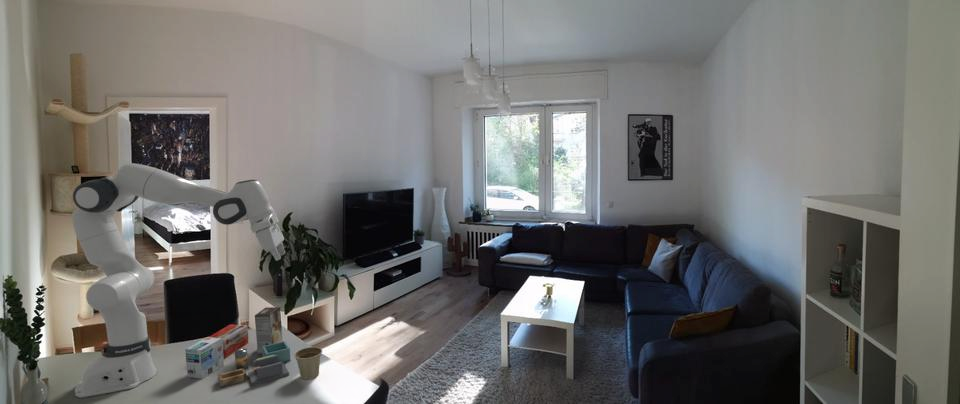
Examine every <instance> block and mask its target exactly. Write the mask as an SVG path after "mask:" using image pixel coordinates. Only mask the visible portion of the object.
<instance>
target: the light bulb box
mask: <svg viewBox="0 0 960 404" xmlns="http://www.w3.org/2000/svg"><path fill="white" fill-rule="evenodd" d="M184 351H185V361H186V363H185V365H186V371H187V372H186V373H187V375H186V376H187V378H196V379H204V378H206V377H207V376H209V375H211V374H212V373H214V372H216V371H218V370H219V369H221V368H222V367H224V366H225V362H224V360H225V359H223V345H222V338H211V337H210V336H207V337H204V338H203V339H201V340H200V341H197V342H196V343H194V344H192V345H190V346H188V347H186V348H185V349H184Z"/></svg>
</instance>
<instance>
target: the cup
mask: <svg viewBox="0 0 960 404" xmlns="http://www.w3.org/2000/svg"><path fill="white" fill-rule="evenodd" d="M282 341H283V342H279V343H274V344H270V345H266V346H262V348H263V353H262V357H266V356H270V355H278V362H282V363H284V364H285V363H288V362H291V349H290V346H289V345H288V344H287V342H286V341H285V340H282Z"/></svg>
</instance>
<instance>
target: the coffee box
mask: <svg viewBox="0 0 960 404" xmlns="http://www.w3.org/2000/svg"><path fill="white" fill-rule="evenodd" d="M254 320H255V321H254V323H255V337H256V338H255V339H256V347H257V348H256V349H257V354H263V348H262V346H266V345H270V344H274V343H279V342H283V341H284V340H283V330H282V314H281V307H278V306H276V307H274V306H271V307H270V306H269V307H264V308H263V309H262V310H259V311H258V313H256V314H254Z"/></svg>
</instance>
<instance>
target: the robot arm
mask: <svg viewBox="0 0 960 404" xmlns="http://www.w3.org/2000/svg"><path fill="white" fill-rule="evenodd" d="M139 198H142V199H145V200H148V201H150V202H154V203H159V204H165V205H175V204H176V205H177V204H185V203H197V204H203V205H206V206H210V207H212V214H213V216H214V219H215V220H216V221H217V222H218V223H220V224H222V225H229V226H230V225H235V224H238V223H239V222H243V221H249V223H250V230H251V232H252V233H253V234H255V237H256V238H257V240H258V242H259V244H260V246H261V248H262V249H263V251H265V252H269V253H270V254H271V255H272V256H273V258H274V260H275V261H276V262H278V261H279V260H281V258H282V256H284V255H285V254H286V250H285V247H284V244H283V242H284V240H285V237H284V235H283V232H282V231H281V228H280V226H279V225H278V224H277V223H279V222H280V220H279V218H278V216H277V213H276V211H275V210H274V209H275V208H273V207H272V205H271V204H270V199H269V196H268V194H267V192H266V191H265V189H264V186H263V185H262V183H261V182H260V181H259V180H257V179H248V180H247V179H246V180H243V181H238V182H236V183H235V184H234V185H233V187H232V189H231V190H230V191H229V192H225V191H222V190H218V189H215V188H211V187H208V186H205V185H202V184H199V183H195V182H193V181H191V180H188V179H186V178H183V177H181V176H179V175H176V174H174V173H172V172H171V173H170V172H168V171H166V170H164V169H159V168H157V167H154V166H153V167H152V166H149V165H145V164H139V163H133V162H132V163H126V164H124V165H122V166H121V167H120V168H119V169H118V171H117V173H116V175H115V177H102V178H98V179H92V180H87V181H84V182H83V183H80V184H79V185H78V186H76V188H74V190H73V192H72V199H73V202H74V204H75V206H76V207H77V208H76V209H75V210H73V212H72V214H71V221H72V226H73V229H74V233H75V236H76V238H77V241H78V242H79V245H80V247H81V249H82V251H83V253H84V255H85V257H86V260H87V261H88V263H89V264H90V265H92V266H94V267H95V266H96V267H97V268H98V269H100V270H101V271H102V272H103V273H104V275H106V277H103V278H100V279H99V280H98V281H96V282H95V283H93V284H92V285H91V286H90V287H89V288H88V289H87V291H86V294H85V295H86V296H85V299H86V301H87V304H88V305H89V306H90V307H91V308H92V309H94V310H97V311H98V312H99V313H100V315H101V316H102V319H103V321H104V324H105V328H106V335H107V341H103V342H101V344H100V351H101V352H100V353H101V355H100V356H99V358H97V359H96V360H94V362H92V363H91V364H89V366H88V367H86V369H85V370H84V373H83V377H82V380H81V381H79V383H78V384H76V386H75V389H74V395H75V397H76V398H79V399H80V398H81V399H82V398H87V397H88V398H89V397H92V396H99V395H104V394H109V393H115V392H119V391H125V390H131V389H133V388H136V387H137V386H139V384H141V383H144V382H146V381H147V380H148V381H149V379H151V378H153V377H154V376H155V375H156V374H157V373H158V370H157V368H156V366H155V364H154V362H153V359H152V355H151V349H152V347H151V338H150V335H149V334H148V325H147V317H146V315H145V313H144V312H142V311H139V309H138V306H137V304H136V299H137V298H138V297H140V296H142V295H143V294H146V293H147V292H148V291H149V289H151V287H152V286H153V285H154V284H155V275H154V272H153V271H152V269H150V268H148V267H147V266H144V265H143V264H141V263H140V262H139V261H138V260H137V259H136V258H135V257H134V255H133V254H132V253H131V252H130V250H129V248H128V247H127V245H126V243H125V241H124V239H123V236H122V234H121V232H120V229H119V228H118V225H117V223H116V221H115V213H116V212H122V211H124V210H125V209H127V208H128V207H130V206H131V205H133V204H134V203H135V202H137V200H138V199H139Z"/></svg>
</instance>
